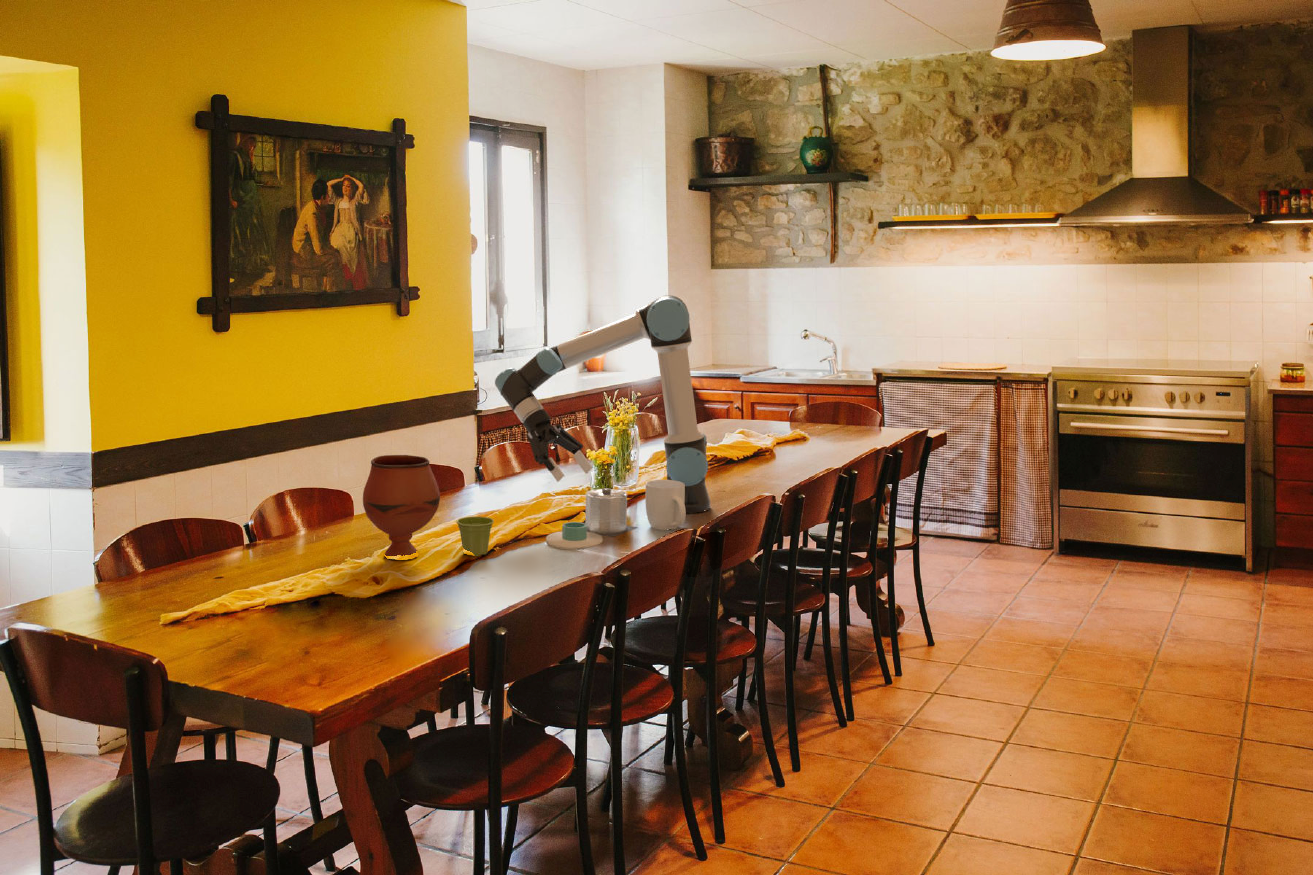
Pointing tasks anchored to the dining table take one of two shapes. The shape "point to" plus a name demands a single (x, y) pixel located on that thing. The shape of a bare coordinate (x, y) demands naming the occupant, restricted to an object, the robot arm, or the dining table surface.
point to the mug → (665, 504)
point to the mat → (618, 533)
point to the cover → (606, 511)
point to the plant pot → (475, 534)
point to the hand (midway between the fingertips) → (575, 474)
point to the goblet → (400, 498)
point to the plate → (573, 537)
